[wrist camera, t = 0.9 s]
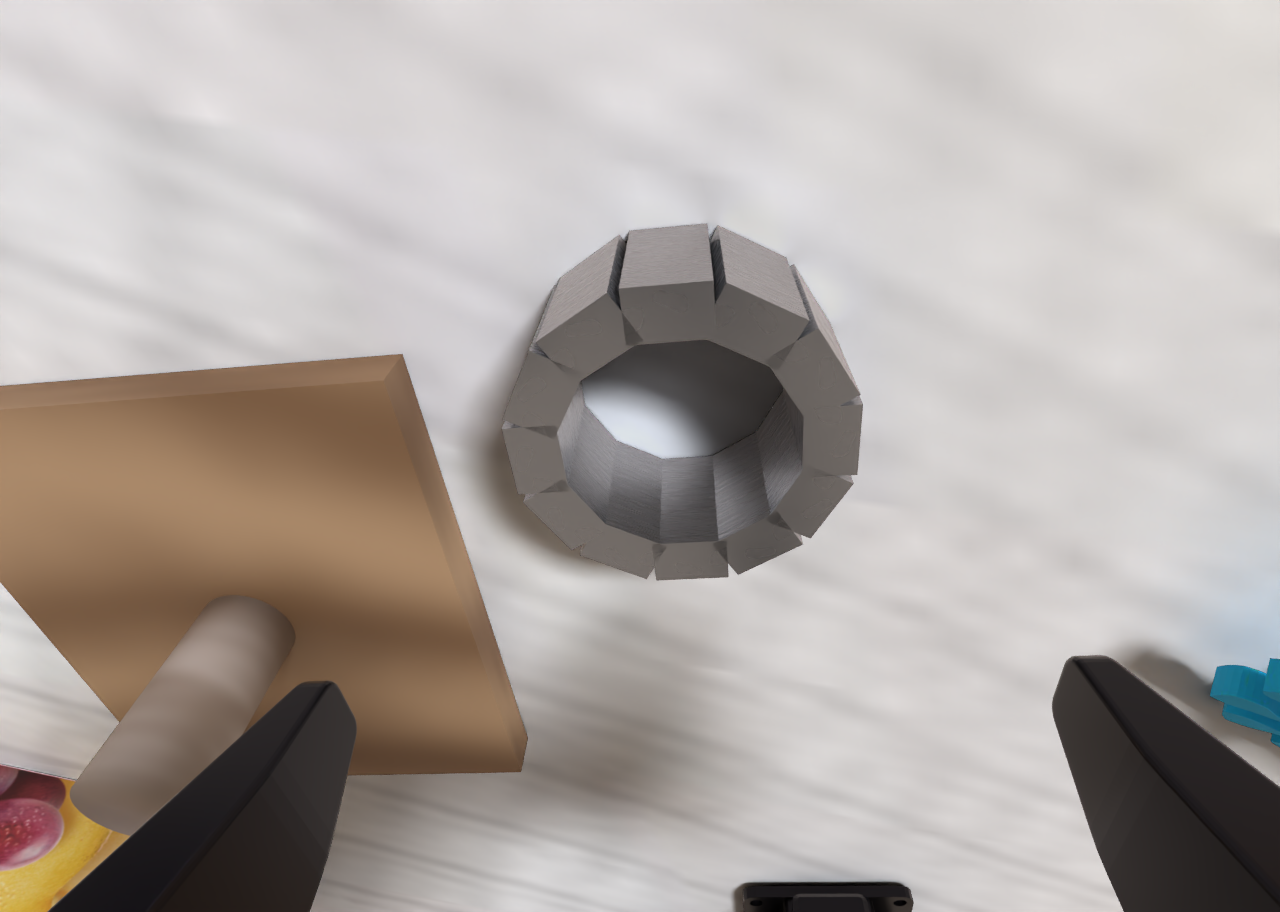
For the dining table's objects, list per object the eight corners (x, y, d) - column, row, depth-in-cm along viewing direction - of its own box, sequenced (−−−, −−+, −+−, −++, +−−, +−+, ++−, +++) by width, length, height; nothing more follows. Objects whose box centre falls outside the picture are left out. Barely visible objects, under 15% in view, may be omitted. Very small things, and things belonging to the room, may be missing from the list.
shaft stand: (527, 737, 23) (485, 954, 18) (188, 746, 24) (58, 951, 19) (402, 354, 15) (265, 545, 10) (-90, 393, 17) (-430, 581, 11)
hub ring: (824, 483, 17) (849, 571, 14) (561, 498, 18) (541, 585, 15) (837, 210, 13) (874, 266, 11) (505, 242, 14) (468, 301, 11)
